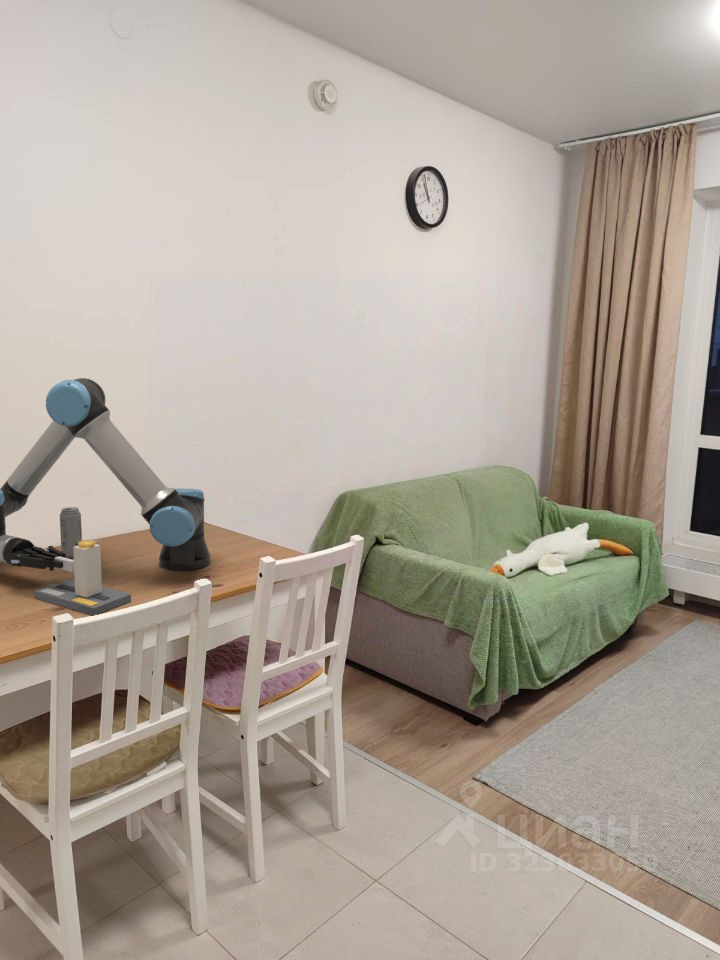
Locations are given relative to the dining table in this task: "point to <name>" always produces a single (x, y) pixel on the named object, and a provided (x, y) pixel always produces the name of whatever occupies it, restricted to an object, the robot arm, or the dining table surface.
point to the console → (81, 598)
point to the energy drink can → (70, 530)
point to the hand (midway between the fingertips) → (74, 566)
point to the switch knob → (87, 568)
